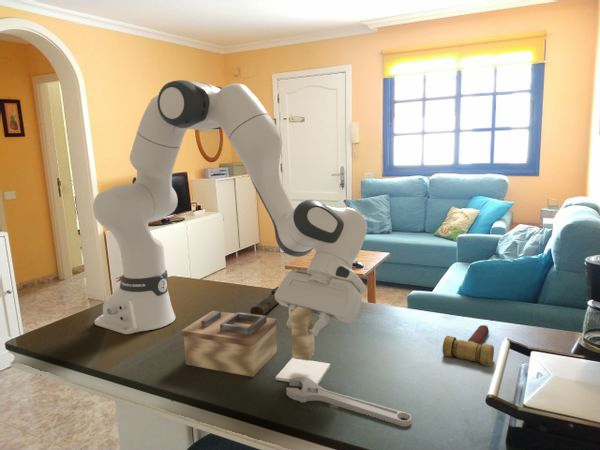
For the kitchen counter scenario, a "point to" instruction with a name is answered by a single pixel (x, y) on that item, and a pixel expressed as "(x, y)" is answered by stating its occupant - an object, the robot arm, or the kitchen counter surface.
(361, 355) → the kitchen counter surface
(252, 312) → the hand tool
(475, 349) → the gavel
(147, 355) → the kitchen counter surface
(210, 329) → the brown rectangular box
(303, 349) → the oak block
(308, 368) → the white mat
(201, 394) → the kitchen counter surface
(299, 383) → the adjustable wrench
